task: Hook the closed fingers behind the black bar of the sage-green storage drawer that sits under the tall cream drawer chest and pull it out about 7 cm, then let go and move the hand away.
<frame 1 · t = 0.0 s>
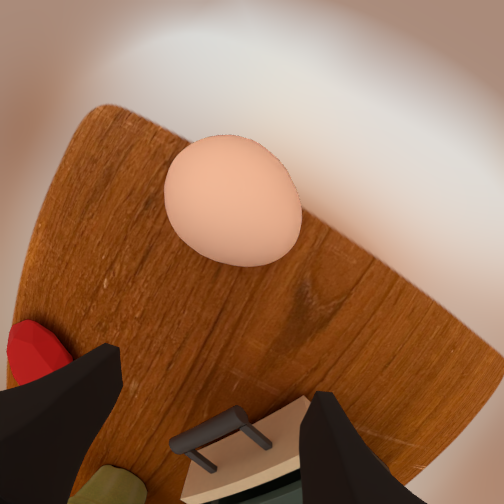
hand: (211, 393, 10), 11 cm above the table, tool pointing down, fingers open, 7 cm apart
cabinet: (304, 470, 22), on the table
gemstone: (50, 360, 22), on the table
egg: (175, 156, 15), point 3 cm above the table
plant pot: (123, 479, 24), on the table
drawer: (275, 477, 18), point 4 cm above the table, slide at 1.0 cm
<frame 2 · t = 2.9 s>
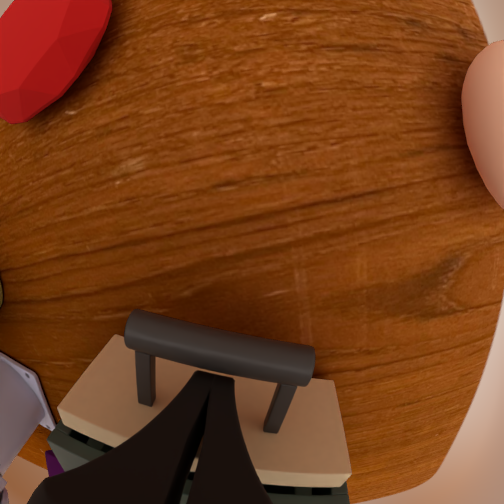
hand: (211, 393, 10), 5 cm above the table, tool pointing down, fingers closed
cabinet: (208, 441, 17), on the table
gemstone: (56, 46, 10), on the table
perfume bottle: (94, 461, 21), on the table
drawer: (203, 453, 12), point 4 cm above the table, slide at 0.5 cm
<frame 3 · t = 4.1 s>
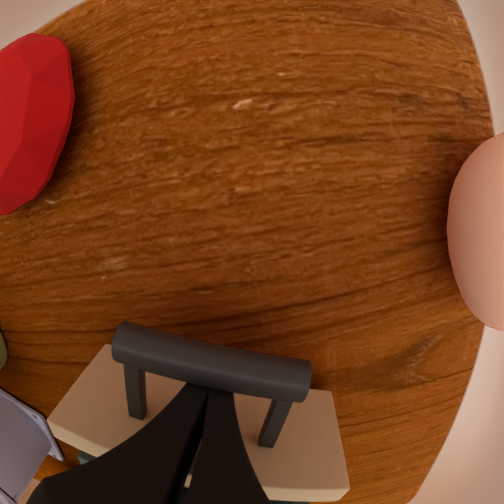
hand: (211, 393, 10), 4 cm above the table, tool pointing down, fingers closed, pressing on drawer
gemstone: (28, 122, 11), on the table
drawer: (197, 464, 12), point 4 cm above the table, slide at 4.9 cm, touching gripper
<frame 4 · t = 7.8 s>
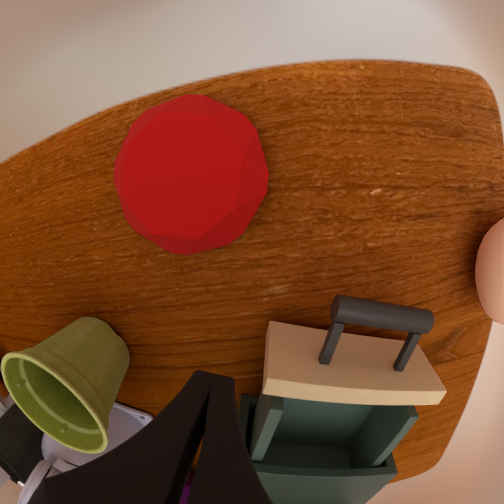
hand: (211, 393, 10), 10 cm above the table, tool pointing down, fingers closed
cabinet: (292, 446, 25), on the table
gemstone: (193, 173, 18), on the table
plant pot: (101, 343, 23), on the table
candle: (63, 392, 26), on the table, touching arm, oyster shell
perfume bottle: (181, 472, 28), on the table
drawer: (337, 404, 18), point 4 cm above the table, slide at 7.0 cm
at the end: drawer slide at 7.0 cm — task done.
